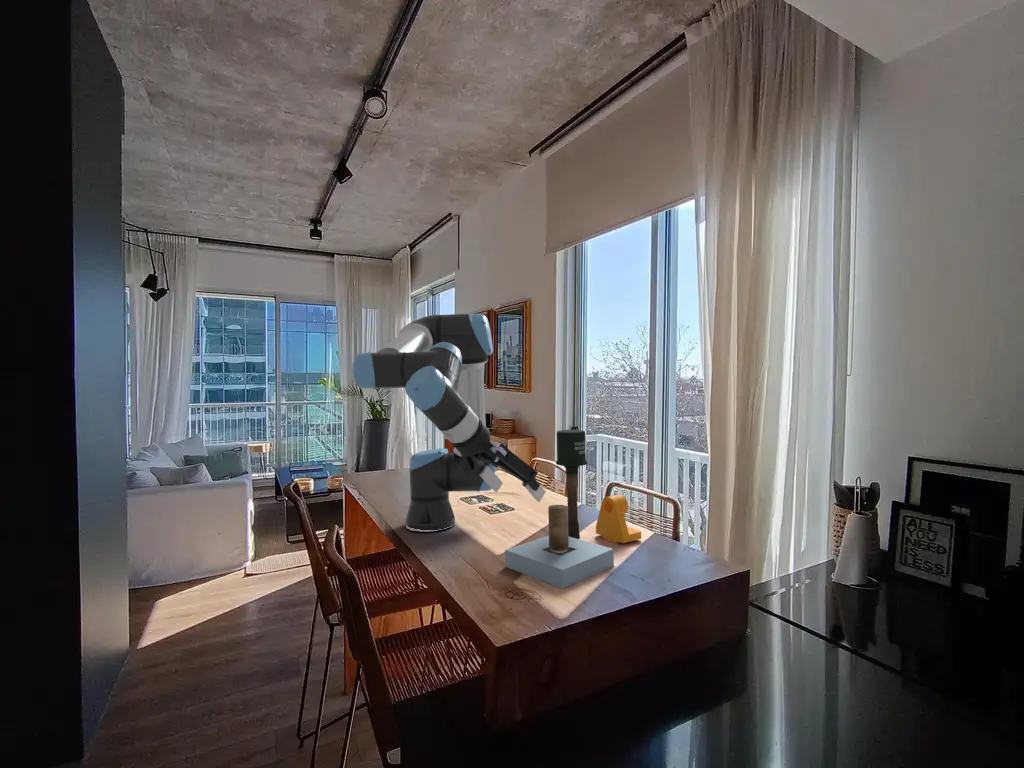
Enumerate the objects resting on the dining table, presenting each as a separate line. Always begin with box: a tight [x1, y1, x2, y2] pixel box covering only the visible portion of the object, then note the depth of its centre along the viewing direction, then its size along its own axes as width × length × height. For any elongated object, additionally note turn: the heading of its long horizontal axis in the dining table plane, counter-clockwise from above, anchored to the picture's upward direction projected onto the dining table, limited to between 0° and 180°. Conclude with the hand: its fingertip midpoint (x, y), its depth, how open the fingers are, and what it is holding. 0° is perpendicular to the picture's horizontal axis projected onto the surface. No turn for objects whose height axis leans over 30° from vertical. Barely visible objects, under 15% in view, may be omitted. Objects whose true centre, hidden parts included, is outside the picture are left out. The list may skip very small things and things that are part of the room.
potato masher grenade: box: [555, 429, 588, 540], centre depth 135 cm, size 8×9×30 cm
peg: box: [547, 504, 569, 556], centre depth 116 cm, size 5×5×14 cm
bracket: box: [595, 494, 642, 545], centre depth 136 cm, size 11×7×12 cm, turn 31°
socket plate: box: [504, 535, 615, 590], centre depth 116 cm, size 18×18×4 cm
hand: (519, 491), depth 111 cm, fingers open, 13 cm apart
